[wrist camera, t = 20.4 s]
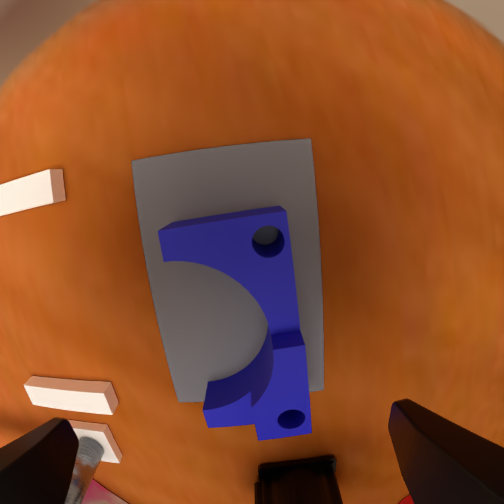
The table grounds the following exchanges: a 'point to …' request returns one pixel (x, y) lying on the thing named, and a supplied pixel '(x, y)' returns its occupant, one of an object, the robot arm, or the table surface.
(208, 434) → the table surface
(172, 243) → the cable clip
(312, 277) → the mat
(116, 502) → the gum box
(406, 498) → the french fries
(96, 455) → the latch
